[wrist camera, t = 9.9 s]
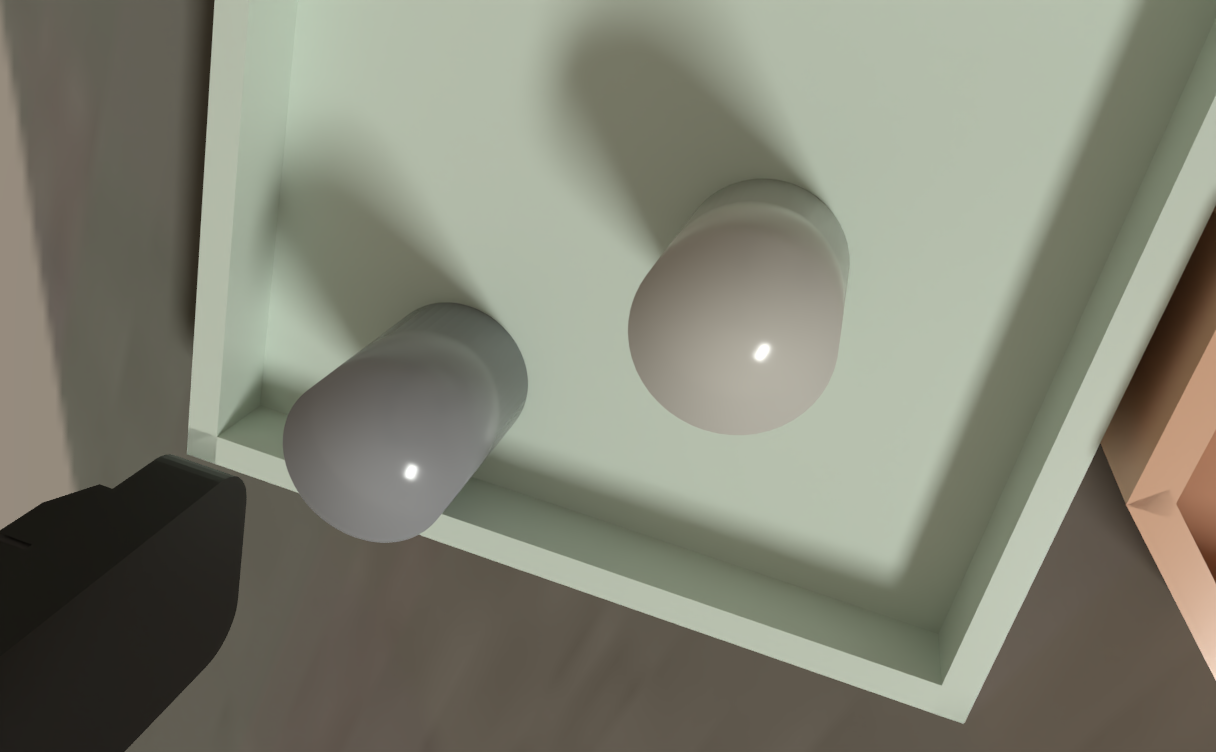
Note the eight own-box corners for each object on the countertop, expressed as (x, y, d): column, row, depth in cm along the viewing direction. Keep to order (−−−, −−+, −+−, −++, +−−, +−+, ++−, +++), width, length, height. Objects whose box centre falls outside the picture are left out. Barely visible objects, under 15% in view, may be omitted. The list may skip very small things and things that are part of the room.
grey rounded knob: (396, 283, 26) (291, 353, 21) (541, 328, 25) (465, 410, 21) (376, 417, 27) (275, 508, 23) (512, 462, 27) (436, 565, 22)
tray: (318, -341, 22) (238, -382, 19) (1308, -115, 19) (1376, -125, 17) (251, 407, 30) (186, 454, 27) (956, 645, 27) (964, 723, 24)
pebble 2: (702, 157, 23) (655, 209, 18) (873, 206, 22) (868, 270, 18) (660, 316, 24) (608, 399, 20) (819, 364, 24) (801, 461, 19)
